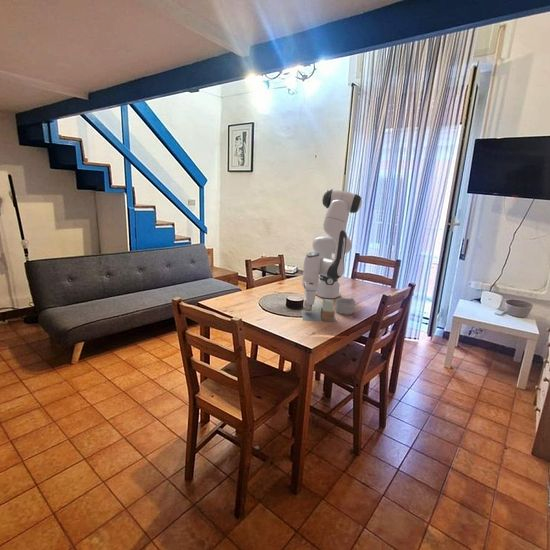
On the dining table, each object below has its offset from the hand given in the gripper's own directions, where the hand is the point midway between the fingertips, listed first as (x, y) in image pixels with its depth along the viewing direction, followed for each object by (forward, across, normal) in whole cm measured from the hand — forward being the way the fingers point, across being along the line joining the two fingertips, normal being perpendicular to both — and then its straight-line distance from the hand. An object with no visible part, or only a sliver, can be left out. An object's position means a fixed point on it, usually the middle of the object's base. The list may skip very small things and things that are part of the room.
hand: (308, 306), depth 180 cm
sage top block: (-2, +8, +10) cm, 12 cm away
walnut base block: (+3, +8, +10) cm, 13 cm away
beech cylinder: (+2, 0, 0) cm, 2 cm away
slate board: (+4, +5, +6) cm, 9 cm away
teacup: (+5, -6, +22) cm, 24 cm away
